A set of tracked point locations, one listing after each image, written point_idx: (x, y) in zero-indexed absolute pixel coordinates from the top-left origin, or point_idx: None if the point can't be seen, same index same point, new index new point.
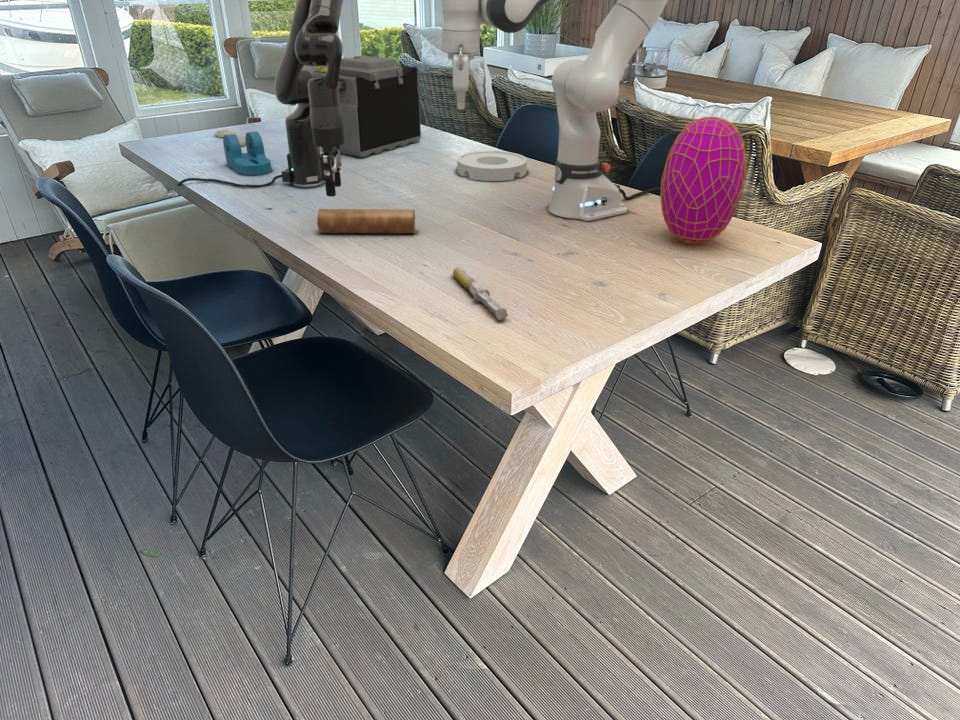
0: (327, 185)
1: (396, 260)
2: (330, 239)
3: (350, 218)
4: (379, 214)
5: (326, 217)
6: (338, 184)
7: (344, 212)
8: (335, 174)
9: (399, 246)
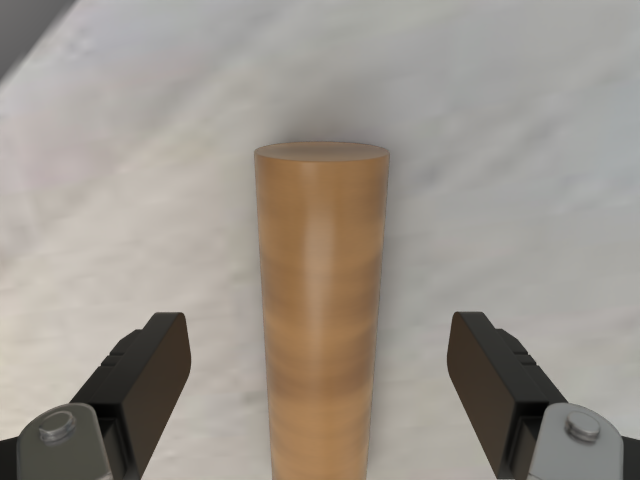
0: (83, 398)
1: None
2: (230, 201)
3: (268, 327)
4: (286, 450)
5: (264, 210)
6: (454, 363)
7: (291, 311)
8: (495, 421)
9: (186, 437)
